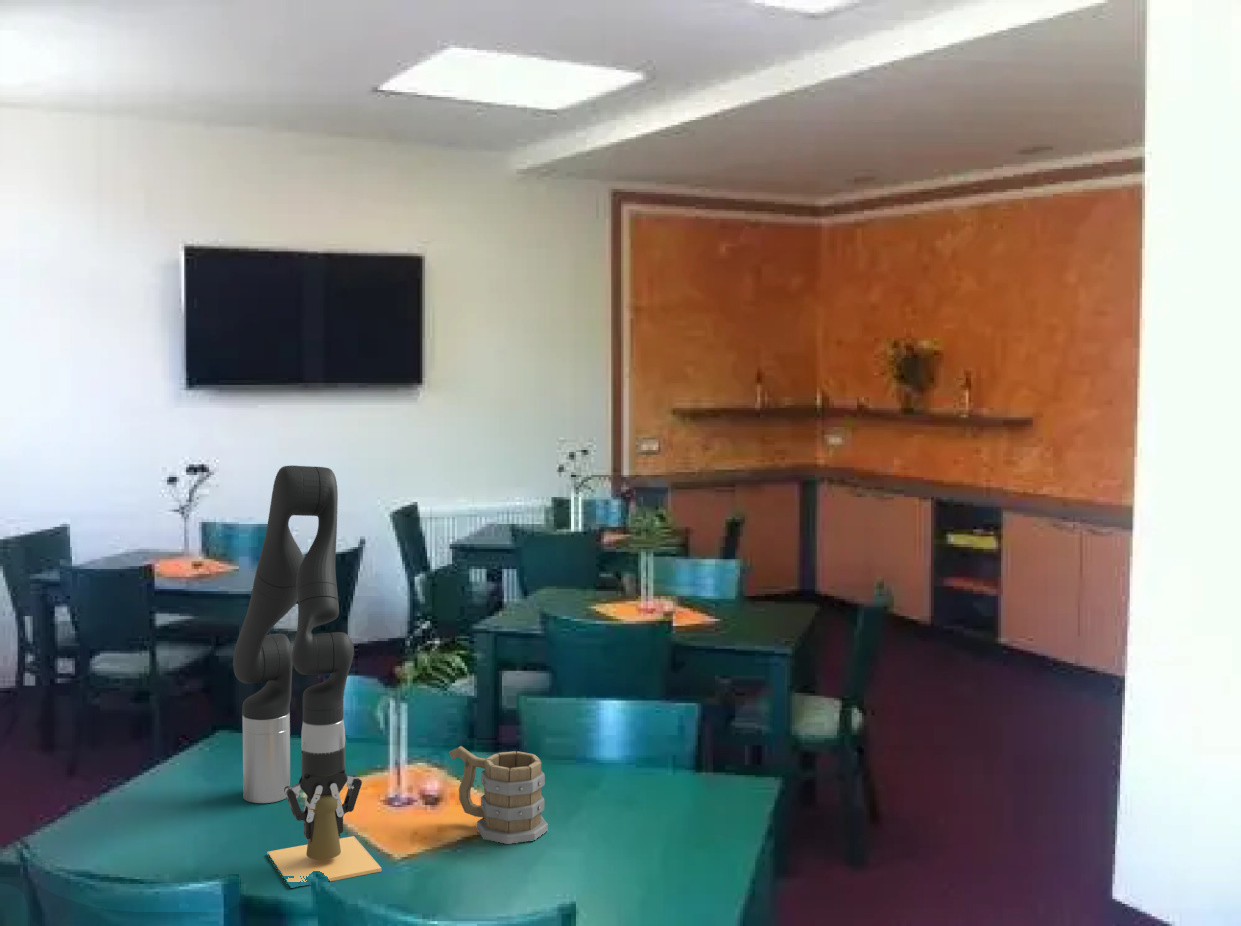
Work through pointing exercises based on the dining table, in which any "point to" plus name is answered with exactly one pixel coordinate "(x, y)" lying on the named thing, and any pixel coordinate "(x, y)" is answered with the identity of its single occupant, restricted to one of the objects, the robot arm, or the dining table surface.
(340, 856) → the placemat
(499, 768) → the tankard
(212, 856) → the dining table surface
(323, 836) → the cork
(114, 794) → the dining table surface
